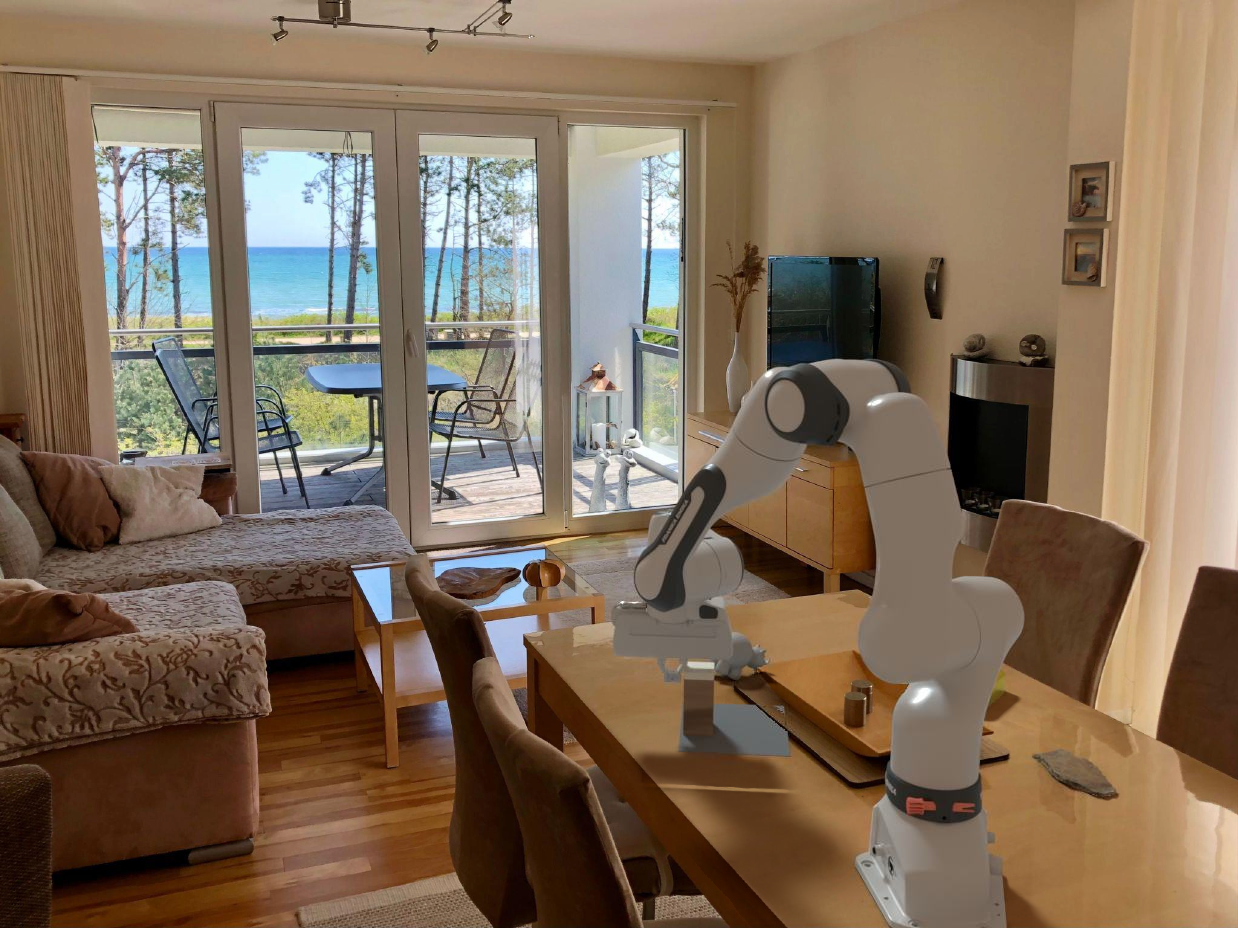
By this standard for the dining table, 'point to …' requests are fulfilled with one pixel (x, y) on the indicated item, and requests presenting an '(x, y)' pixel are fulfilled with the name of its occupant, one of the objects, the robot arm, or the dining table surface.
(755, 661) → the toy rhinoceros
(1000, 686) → the element tile
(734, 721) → the rubber mat
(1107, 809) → the dining table surface
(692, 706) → the walnut block
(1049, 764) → the grey flat rock
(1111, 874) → the dining table surface
